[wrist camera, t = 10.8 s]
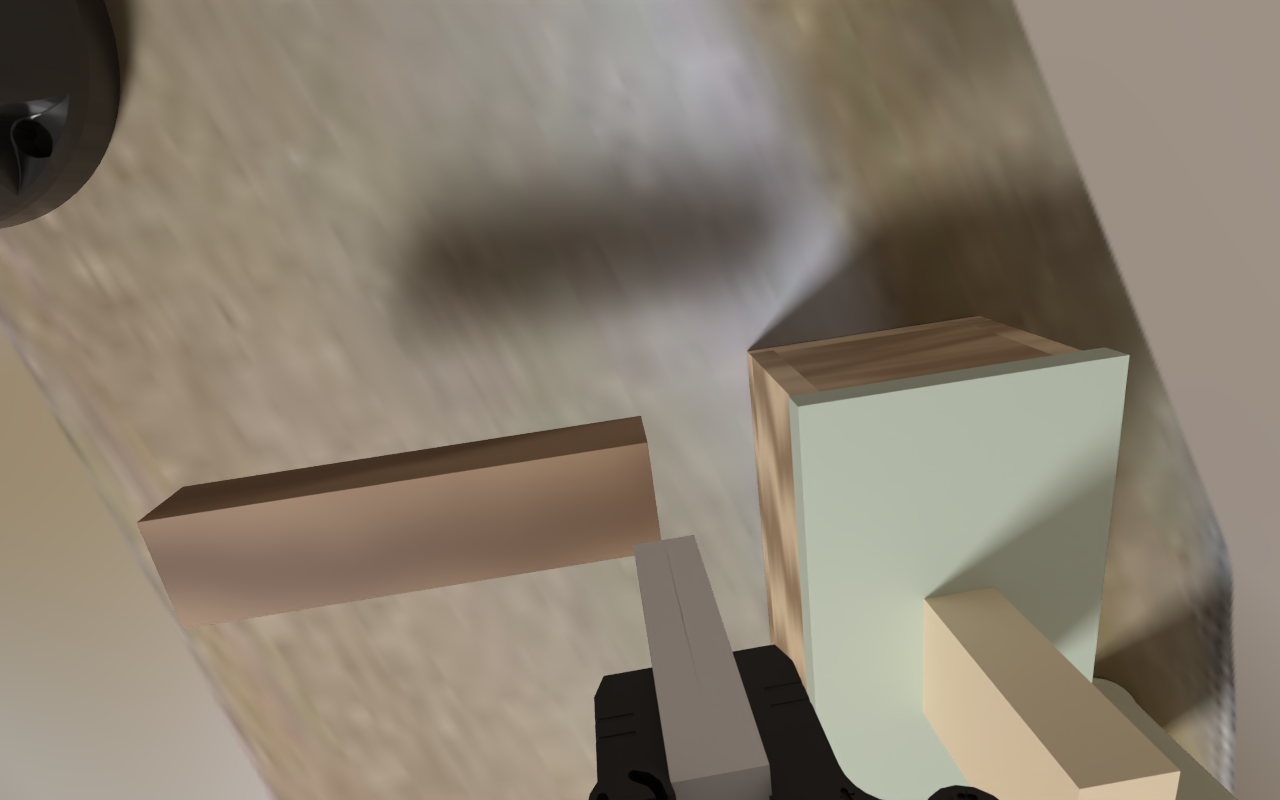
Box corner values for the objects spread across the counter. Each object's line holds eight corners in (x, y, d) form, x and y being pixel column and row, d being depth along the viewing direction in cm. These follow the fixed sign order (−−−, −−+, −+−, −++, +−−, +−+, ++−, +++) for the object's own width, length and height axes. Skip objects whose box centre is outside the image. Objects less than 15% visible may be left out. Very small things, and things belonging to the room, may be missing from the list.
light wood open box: (747, 351, 33) (796, 402, 25) (979, 315, 33) (1097, 355, 26) (773, 672, 39) (819, 789, 32) (968, 639, 40) (1058, 747, 32)
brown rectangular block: (183, 486, 23) (136, 522, 20) (640, 415, 23) (647, 442, 21) (222, 584, 24) (183, 629, 22) (654, 515, 25) (662, 550, 22)
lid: (788, 396, 25) (917, 531, 15) (1105, 347, 26) (1421, 448, 16) (813, 795, 32) (914, 1062, 22) (1064, 750, 32) (1269, 993, 23)
